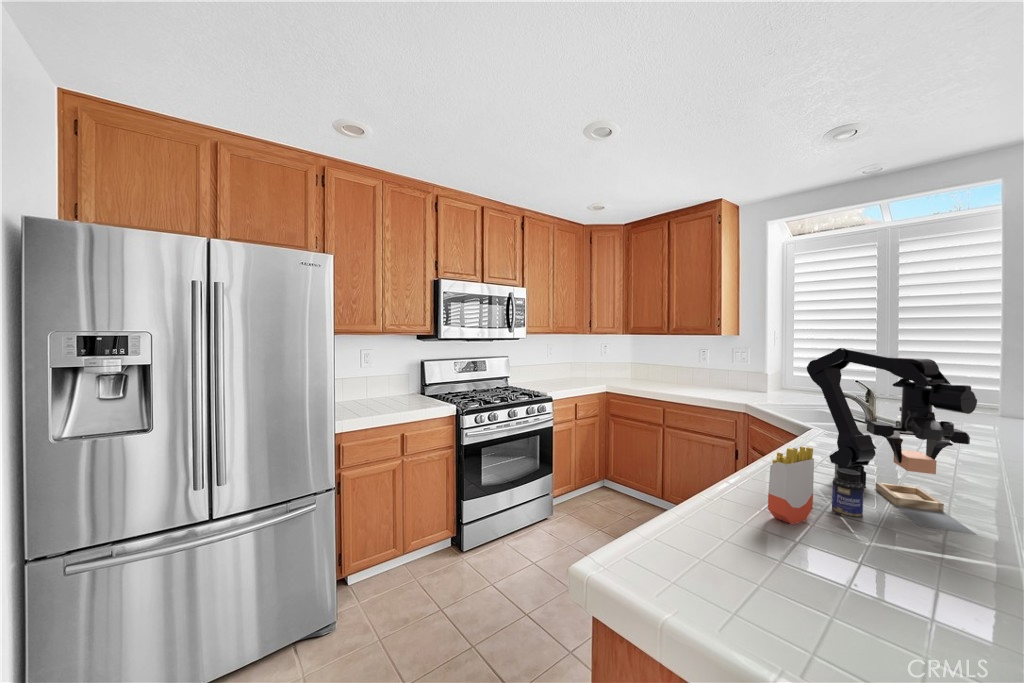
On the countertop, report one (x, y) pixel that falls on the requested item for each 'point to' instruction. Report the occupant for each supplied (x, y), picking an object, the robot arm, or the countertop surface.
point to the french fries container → (792, 485)
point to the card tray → (909, 497)
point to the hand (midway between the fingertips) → (913, 464)
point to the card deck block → (917, 462)
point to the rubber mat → (933, 519)
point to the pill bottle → (847, 493)
